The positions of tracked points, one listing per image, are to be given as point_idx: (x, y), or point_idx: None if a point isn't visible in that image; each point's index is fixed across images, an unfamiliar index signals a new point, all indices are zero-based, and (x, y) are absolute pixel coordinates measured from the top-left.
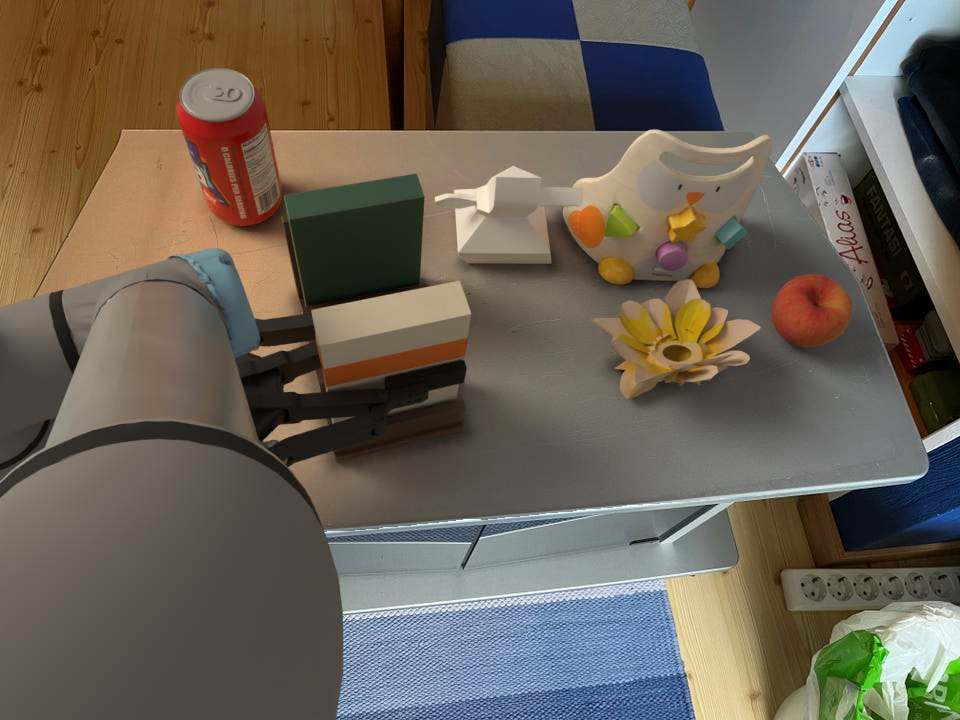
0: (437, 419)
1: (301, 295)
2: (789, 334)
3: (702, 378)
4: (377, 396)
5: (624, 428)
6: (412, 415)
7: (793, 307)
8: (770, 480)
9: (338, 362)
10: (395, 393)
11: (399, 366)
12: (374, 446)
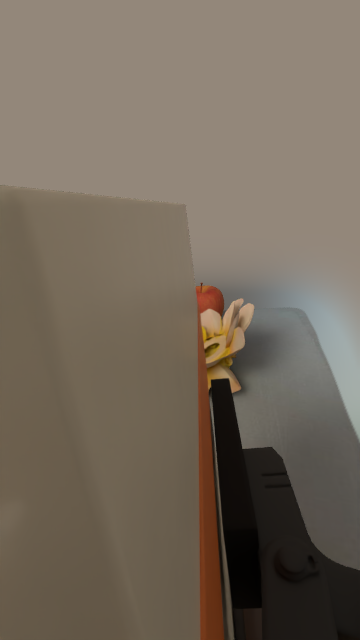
0: None
1: None
2: None
3: (247, 319)
4: (300, 575)
5: (267, 403)
6: (254, 618)
7: (200, 299)
8: (316, 345)
9: (193, 575)
10: (275, 525)
11: (210, 449)
12: None
